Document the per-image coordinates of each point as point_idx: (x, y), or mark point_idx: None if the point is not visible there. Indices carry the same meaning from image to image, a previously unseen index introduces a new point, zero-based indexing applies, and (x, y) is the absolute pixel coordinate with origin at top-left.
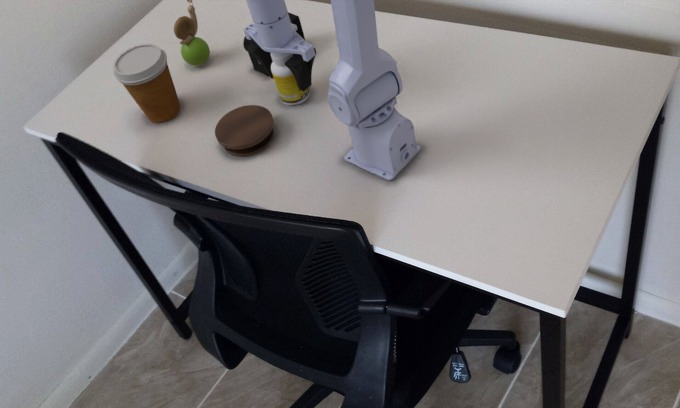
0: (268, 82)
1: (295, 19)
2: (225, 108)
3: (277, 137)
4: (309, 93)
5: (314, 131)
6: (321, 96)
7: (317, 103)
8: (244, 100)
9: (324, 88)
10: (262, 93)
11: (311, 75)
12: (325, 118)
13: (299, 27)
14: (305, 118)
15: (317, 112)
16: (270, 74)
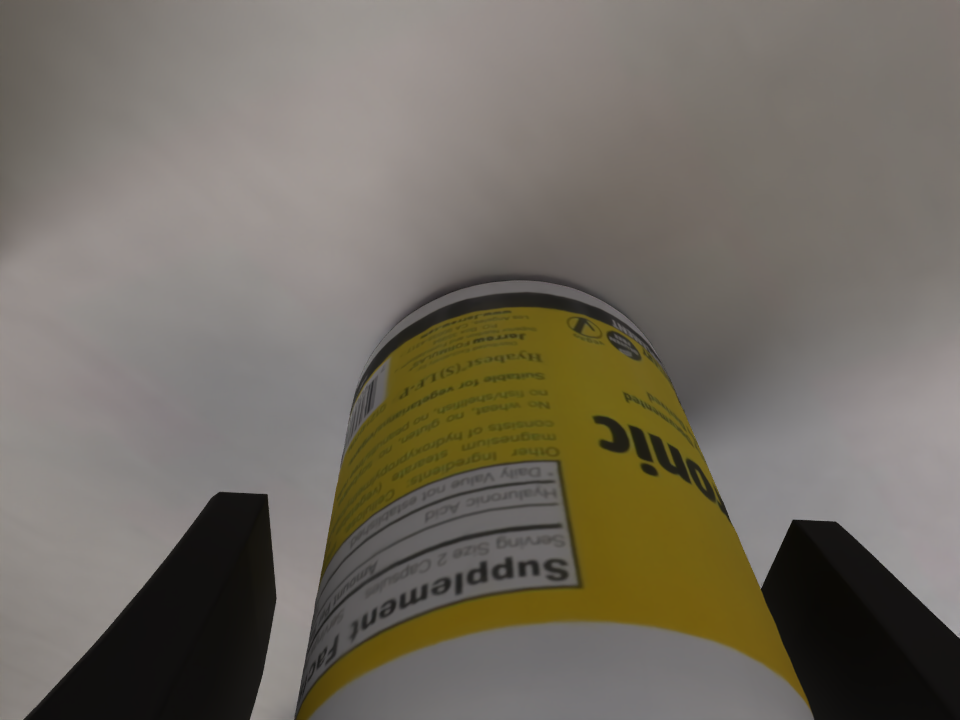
0: (54, 350)
1: None
2: (44, 678)
3: None
4: (659, 358)
5: None
6: (788, 311)
7: (789, 399)
8: (92, 586)
9: (766, 194)
10: (156, 482)
11: (946, 629)
12: (942, 503)
13: None
14: (760, 554)
15: (839, 479)
16: (256, 683)
